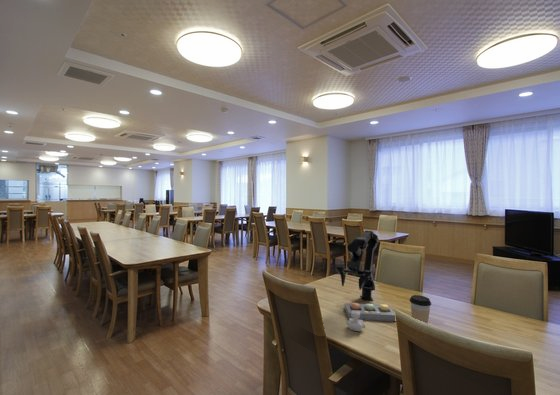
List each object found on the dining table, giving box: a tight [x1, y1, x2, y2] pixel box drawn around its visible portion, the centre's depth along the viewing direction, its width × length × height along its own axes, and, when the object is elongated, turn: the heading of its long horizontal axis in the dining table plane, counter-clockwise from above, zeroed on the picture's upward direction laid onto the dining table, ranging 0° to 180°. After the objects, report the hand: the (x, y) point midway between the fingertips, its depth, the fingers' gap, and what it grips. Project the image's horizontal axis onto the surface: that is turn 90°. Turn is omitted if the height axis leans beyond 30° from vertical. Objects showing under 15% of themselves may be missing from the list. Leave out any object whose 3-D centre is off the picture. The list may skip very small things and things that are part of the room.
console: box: [344, 302, 396, 322], centre depth 150 cm, size 13×24×3 cm, turn 86°
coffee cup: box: [408, 294, 432, 324], centre depth 135 cm, size 9×9×15 cm
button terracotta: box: [351, 302, 361, 310], centre depth 151 cm, size 4×4×3 cm
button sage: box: [365, 303, 375, 311], centre depth 150 cm, size 4×4×3 cm
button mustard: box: [379, 303, 390, 312], centre depth 150 cm, size 4×4×3 cm
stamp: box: [345, 310, 366, 332], centre depth 133 cm, size 9×7×8 cm
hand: (351, 287), depth 148 cm, fingers open, 9 cm apart
